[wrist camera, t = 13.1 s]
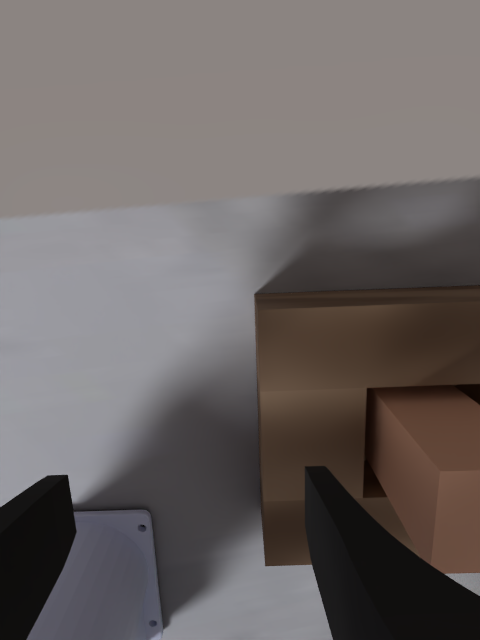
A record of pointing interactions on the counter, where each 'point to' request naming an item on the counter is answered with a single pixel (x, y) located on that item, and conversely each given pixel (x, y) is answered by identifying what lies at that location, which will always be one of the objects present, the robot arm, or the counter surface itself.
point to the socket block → (347, 390)
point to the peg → (429, 468)
